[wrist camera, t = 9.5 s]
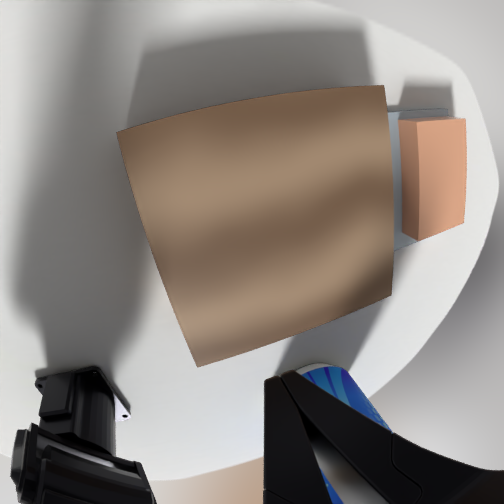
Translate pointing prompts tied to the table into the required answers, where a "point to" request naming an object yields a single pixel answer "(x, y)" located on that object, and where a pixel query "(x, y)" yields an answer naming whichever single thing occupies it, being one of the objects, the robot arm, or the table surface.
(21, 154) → the table surface
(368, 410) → the beer can
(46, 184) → the table surface
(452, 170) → the peach rectangular block
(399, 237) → the mat
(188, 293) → the brown box
